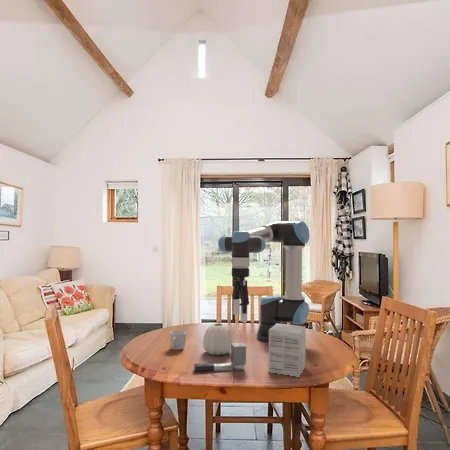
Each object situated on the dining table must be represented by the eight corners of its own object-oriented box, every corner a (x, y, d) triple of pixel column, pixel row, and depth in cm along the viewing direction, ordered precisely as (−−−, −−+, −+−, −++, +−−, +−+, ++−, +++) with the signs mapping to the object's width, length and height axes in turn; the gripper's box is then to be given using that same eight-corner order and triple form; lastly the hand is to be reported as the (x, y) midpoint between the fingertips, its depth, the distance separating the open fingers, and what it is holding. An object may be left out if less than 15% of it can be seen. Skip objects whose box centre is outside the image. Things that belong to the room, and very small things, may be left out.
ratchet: (242, 366, 152) (242, 352, 152) (245, 370, 147) (245, 355, 147) (193, 368, 148) (193, 354, 148) (194, 373, 143) (195, 358, 143)
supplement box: (275, 362, 157) (276, 322, 158) (305, 367, 152) (306, 326, 153) (267, 372, 145) (268, 329, 146) (300, 378, 140) (300, 333, 141)
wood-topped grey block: (242, 360, 152) (243, 342, 152) (245, 364, 147) (246, 346, 147) (230, 361, 151) (231, 343, 151) (233, 365, 146) (233, 346, 146)
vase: (210, 359, 160) (211, 329, 161) (198, 350, 172) (199, 322, 173) (237, 355, 166) (238, 326, 167) (223, 347, 179) (224, 320, 179)
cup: (180, 353, 168) (181, 336, 168) (164, 352, 169) (165, 335, 170) (187, 346, 178) (188, 330, 179) (172, 345, 180) (173, 329, 180)
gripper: (226, 265, 163) (225, 311, 162) (238, 270, 139) (237, 325, 138) (242, 265, 164) (241, 311, 164) (257, 269, 140) (256, 324, 139)
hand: (239, 317), depth 151 cm, fingers open, 13 cm apart
